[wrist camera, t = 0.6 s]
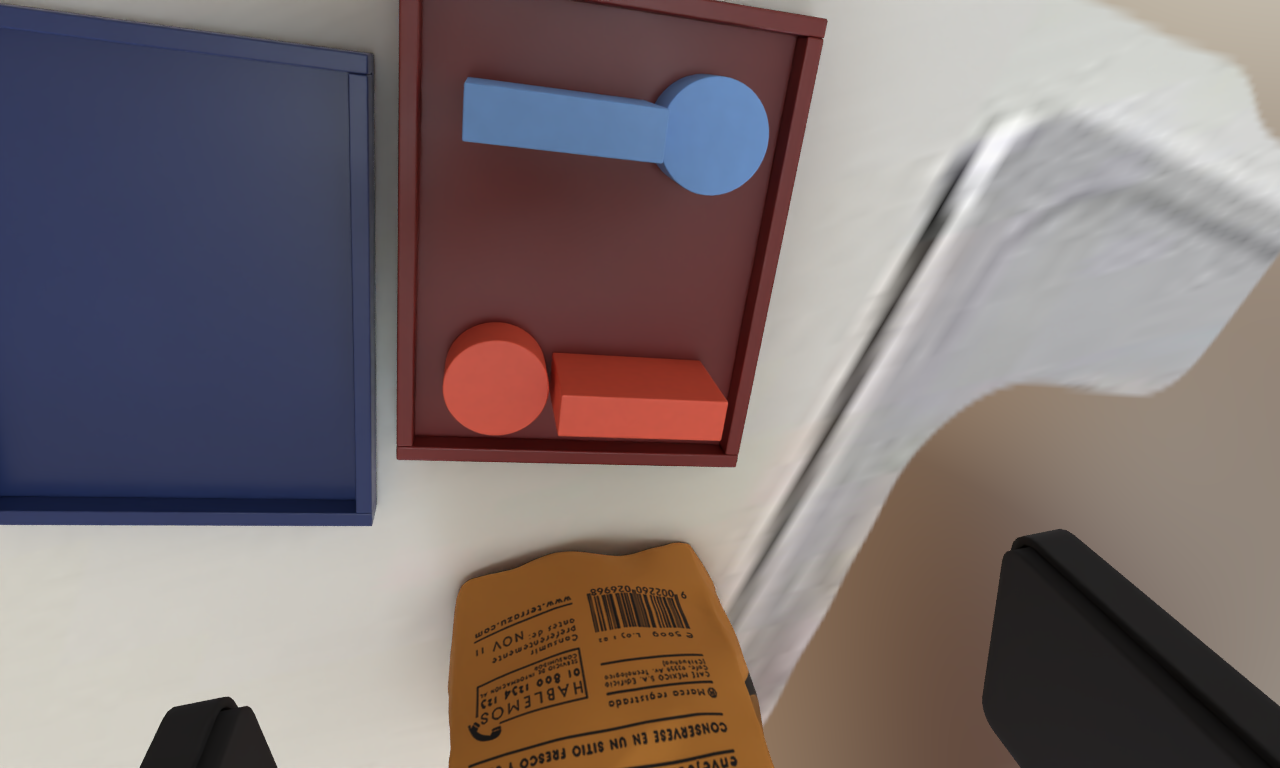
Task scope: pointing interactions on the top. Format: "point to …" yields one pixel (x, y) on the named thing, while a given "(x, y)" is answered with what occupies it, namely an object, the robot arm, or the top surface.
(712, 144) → the blue spoon
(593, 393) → the coral spoon
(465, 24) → the maroon tray
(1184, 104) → the top surface
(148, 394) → the navy tray
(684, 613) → the coffee package
